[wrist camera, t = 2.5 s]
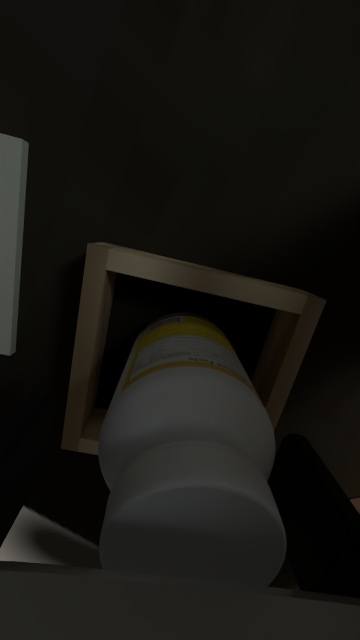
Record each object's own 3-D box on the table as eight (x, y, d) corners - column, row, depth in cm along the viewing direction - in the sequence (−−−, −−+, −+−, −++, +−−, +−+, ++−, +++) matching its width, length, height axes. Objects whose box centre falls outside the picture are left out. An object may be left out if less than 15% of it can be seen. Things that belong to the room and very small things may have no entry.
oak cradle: (300, 289, 16) (326, 300, 14) (242, 446, 20) (253, 482, 17) (103, 242, 16) (87, 243, 13) (78, 416, 19) (60, 448, 16)
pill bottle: (173, 416, 19) (169, 666, 8) (111, 348, 17) (-1, 545, 6) (250, 364, 18) (371, 571, 7) (192, 288, 16) (226, 395, 5)
